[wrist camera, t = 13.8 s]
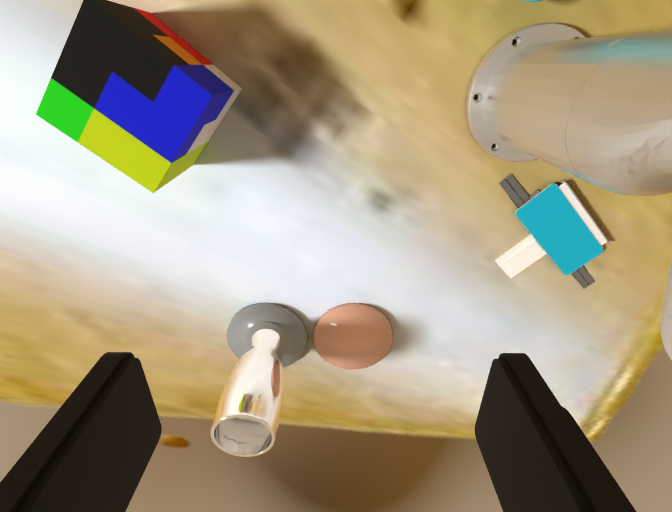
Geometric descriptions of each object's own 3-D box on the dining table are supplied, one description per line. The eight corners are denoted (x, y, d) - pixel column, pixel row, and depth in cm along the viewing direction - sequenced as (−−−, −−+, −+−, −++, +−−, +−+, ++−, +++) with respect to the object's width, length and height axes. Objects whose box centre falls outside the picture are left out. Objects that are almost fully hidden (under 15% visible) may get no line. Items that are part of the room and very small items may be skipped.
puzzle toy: (242, 88, 37) (212, 95, 28) (193, 164, 40) (153, 192, 31) (151, 13, 34) (85, -6, 25) (106, 102, 37) (35, 114, 29)
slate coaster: (305, 302, 49) (305, 307, 48) (308, 364, 54) (307, 369, 53) (223, 302, 49) (221, 307, 48) (234, 364, 54) (232, 369, 53)
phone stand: (454, 215, 44) (458, 221, 42) (543, 143, 40) (551, 146, 38) (540, 311, 50) (546, 318, 49) (624, 257, 46) (633, 264, 45)
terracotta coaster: (394, 303, 49) (396, 307, 48) (389, 364, 54) (390, 369, 53) (313, 303, 49) (312, 307, 48) (315, 364, 54) (314, 369, 53)
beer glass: (263, 310, 48) (235, 403, 35) (302, 338, 50) (290, 436, 37) (231, 339, 50) (194, 437, 37) (270, 365, 53) (248, 466, 39)
